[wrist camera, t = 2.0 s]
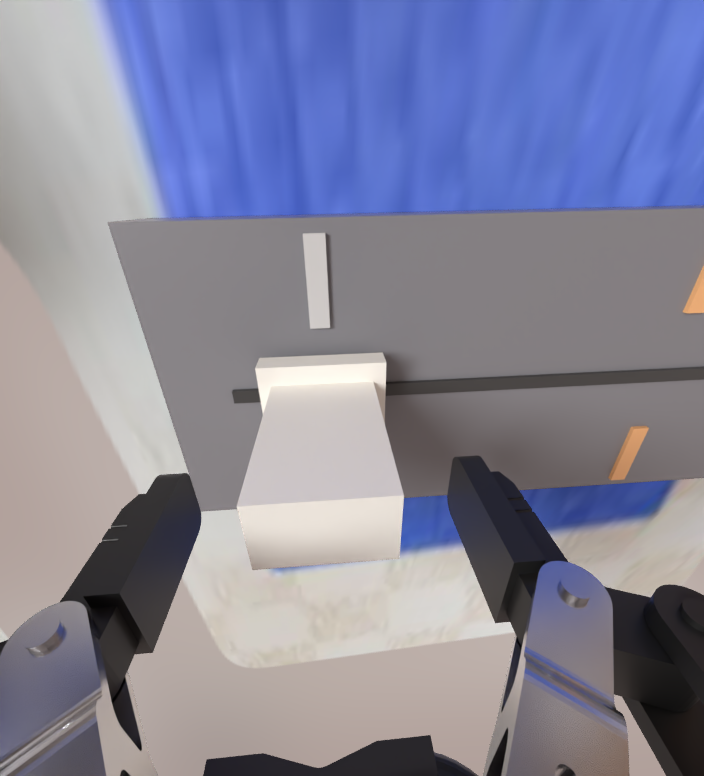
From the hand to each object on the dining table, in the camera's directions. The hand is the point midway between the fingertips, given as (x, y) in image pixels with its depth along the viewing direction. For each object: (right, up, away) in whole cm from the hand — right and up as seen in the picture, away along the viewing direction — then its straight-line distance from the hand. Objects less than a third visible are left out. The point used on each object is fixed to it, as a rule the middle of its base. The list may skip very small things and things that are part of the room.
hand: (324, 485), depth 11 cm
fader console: (+7, +5, +8) cm, 12 cm away
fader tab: (0, +3, +4) cm, 5 cm away
